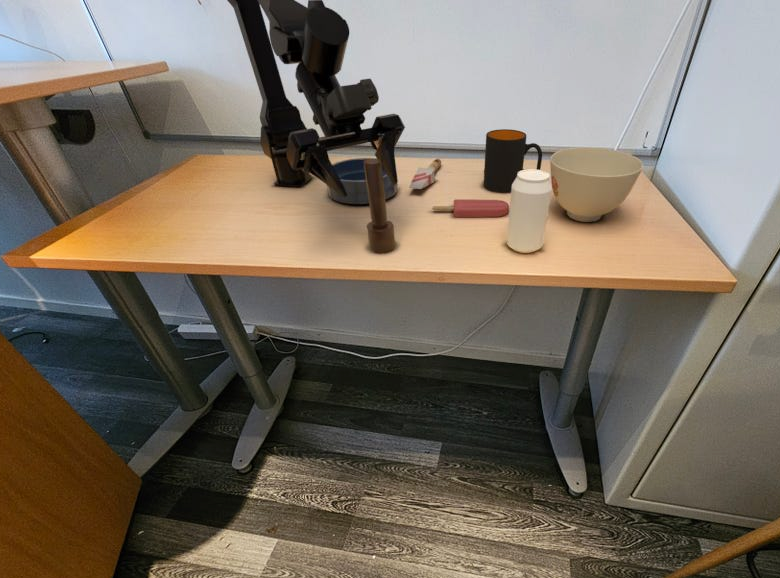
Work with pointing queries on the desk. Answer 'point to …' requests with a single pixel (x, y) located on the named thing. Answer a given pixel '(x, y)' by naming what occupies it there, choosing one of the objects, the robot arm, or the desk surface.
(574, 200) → the bowl
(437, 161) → the paintbrush
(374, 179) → the pestle
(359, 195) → the blue grey round dish
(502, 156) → the mug
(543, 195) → the beverage can
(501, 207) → the popsicle
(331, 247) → the desk surface
